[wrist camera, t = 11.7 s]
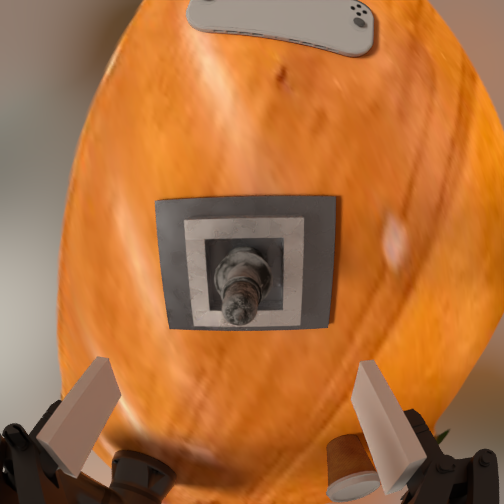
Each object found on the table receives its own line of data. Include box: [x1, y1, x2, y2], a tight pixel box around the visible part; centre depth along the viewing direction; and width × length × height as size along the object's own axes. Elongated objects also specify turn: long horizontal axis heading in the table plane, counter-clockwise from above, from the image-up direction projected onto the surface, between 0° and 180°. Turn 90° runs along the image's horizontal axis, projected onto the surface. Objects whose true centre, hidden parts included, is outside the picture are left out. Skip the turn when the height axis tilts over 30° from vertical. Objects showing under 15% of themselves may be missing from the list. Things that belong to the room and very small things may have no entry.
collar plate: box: [155, 196, 336, 331], centre depth 31 cm, size 20×16×4 cm
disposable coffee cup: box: [326, 435, 380, 502], centre depth 35 cm, size 10×10×12 cm
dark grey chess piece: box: [214, 246, 273, 326], centre depth 26 cm, size 6×6×12 cm
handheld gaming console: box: [186, 0, 374, 57], centre depth 23 cm, size 23×3×10 cm
